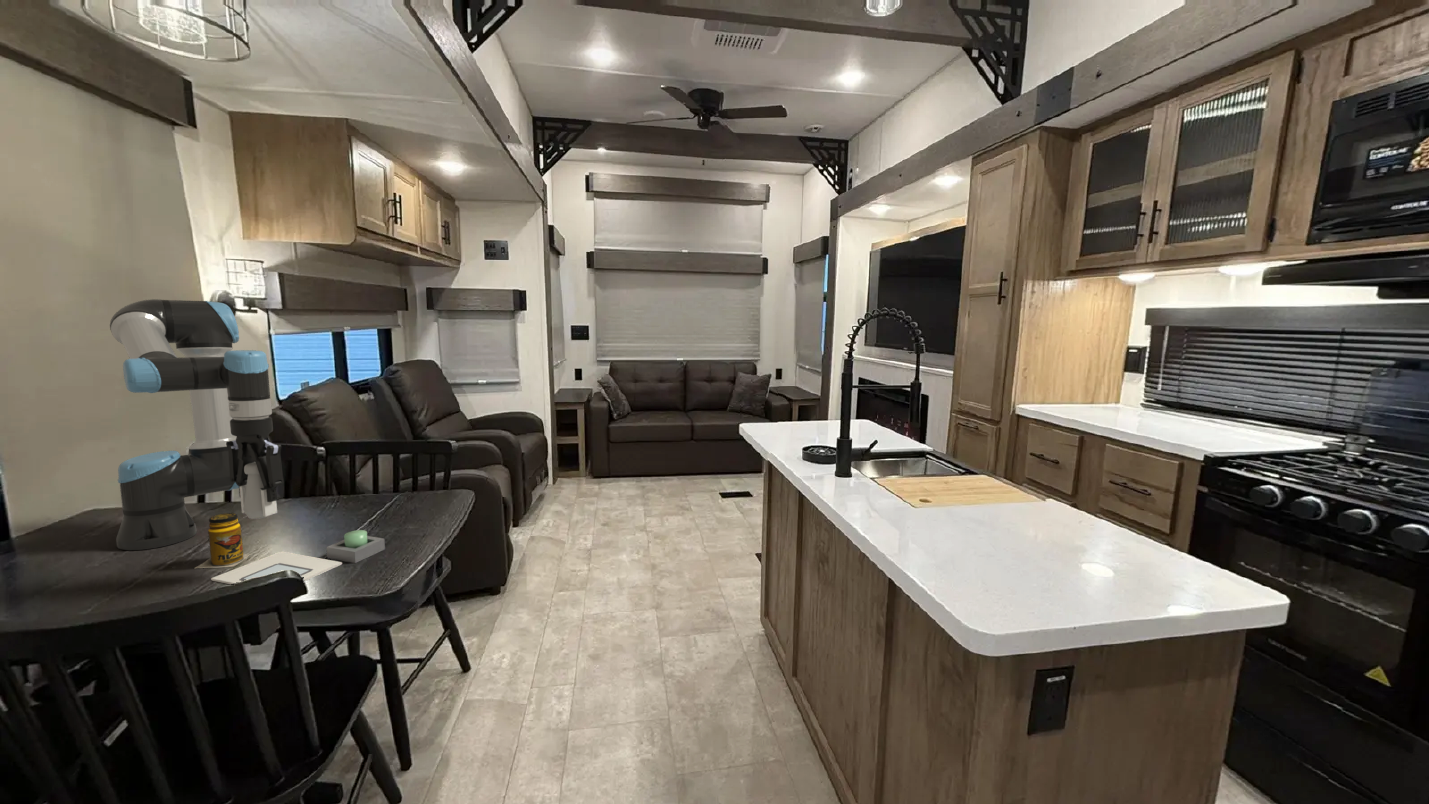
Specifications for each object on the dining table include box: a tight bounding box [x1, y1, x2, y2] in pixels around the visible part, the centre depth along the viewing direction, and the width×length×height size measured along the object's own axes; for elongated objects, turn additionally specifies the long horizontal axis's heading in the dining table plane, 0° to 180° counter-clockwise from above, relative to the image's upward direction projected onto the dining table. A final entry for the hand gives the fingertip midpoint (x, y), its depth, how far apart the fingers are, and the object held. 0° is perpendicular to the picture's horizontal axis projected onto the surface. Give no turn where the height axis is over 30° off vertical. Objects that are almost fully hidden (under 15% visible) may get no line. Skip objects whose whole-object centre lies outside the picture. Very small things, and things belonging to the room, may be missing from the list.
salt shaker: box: [243, 462, 271, 520], centre depth 128 cm, size 6×6×13 cm
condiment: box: [194, 512, 252, 569], centre depth 135 cm, size 7×8×12 cm
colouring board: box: [210, 550, 343, 585], centre depth 131 cm, size 20×16×1 cm
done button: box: [343, 529, 368, 549], centre depth 142 cm, size 5×5×4 cm
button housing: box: [326, 535, 386, 564], centre depth 143 cm, size 9×9×3 cm
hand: (259, 512), depth 129 cm, fingers closed on salt shaker, 6 cm apart
